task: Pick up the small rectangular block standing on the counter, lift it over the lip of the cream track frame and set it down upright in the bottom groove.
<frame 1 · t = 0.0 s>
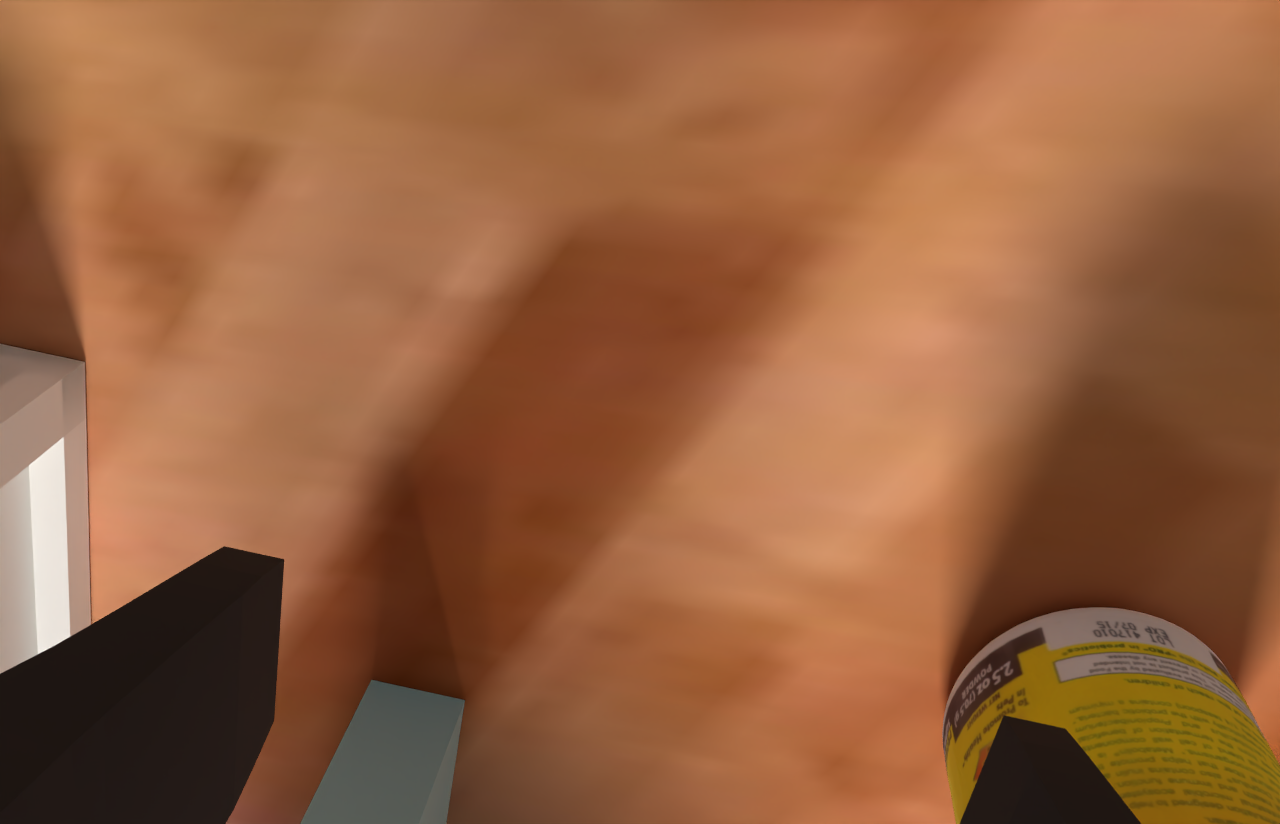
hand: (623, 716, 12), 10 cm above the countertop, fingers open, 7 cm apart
supplement bottle: (1078, 705, 24), on the countertop
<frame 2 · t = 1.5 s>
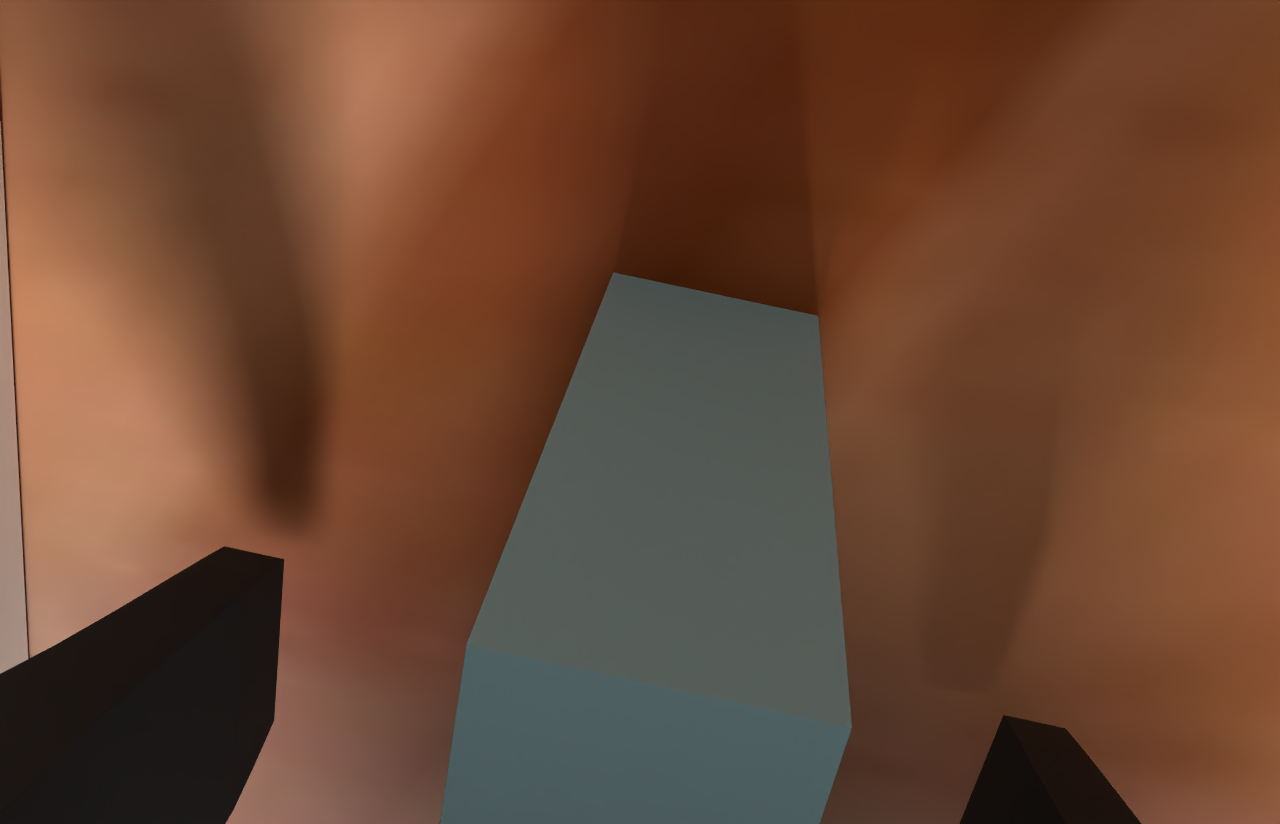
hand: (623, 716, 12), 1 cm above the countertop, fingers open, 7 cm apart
rectangular block: (640, 627, 13), on the countertop
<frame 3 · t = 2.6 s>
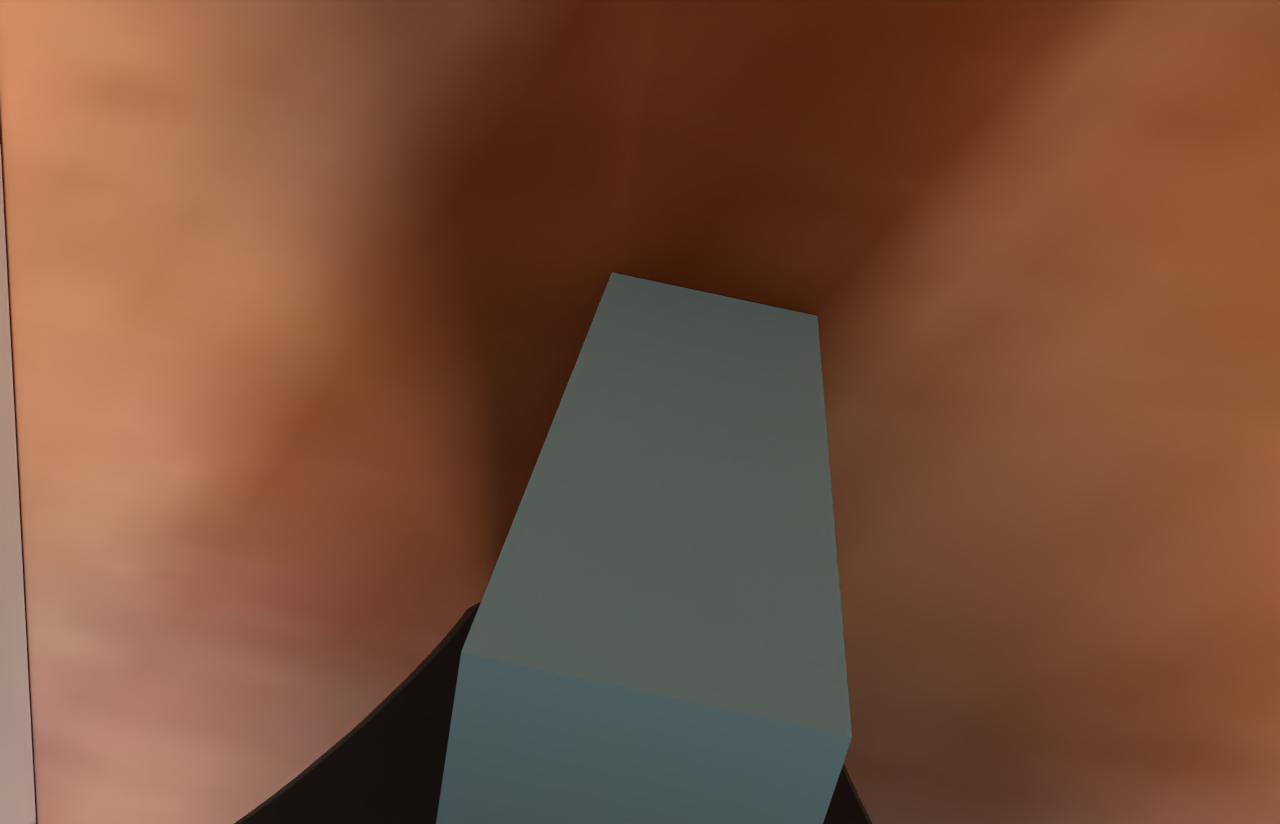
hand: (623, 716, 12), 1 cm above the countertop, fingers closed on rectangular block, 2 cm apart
rectangular block: (638, 631, 13), on the countertop, touching gripper
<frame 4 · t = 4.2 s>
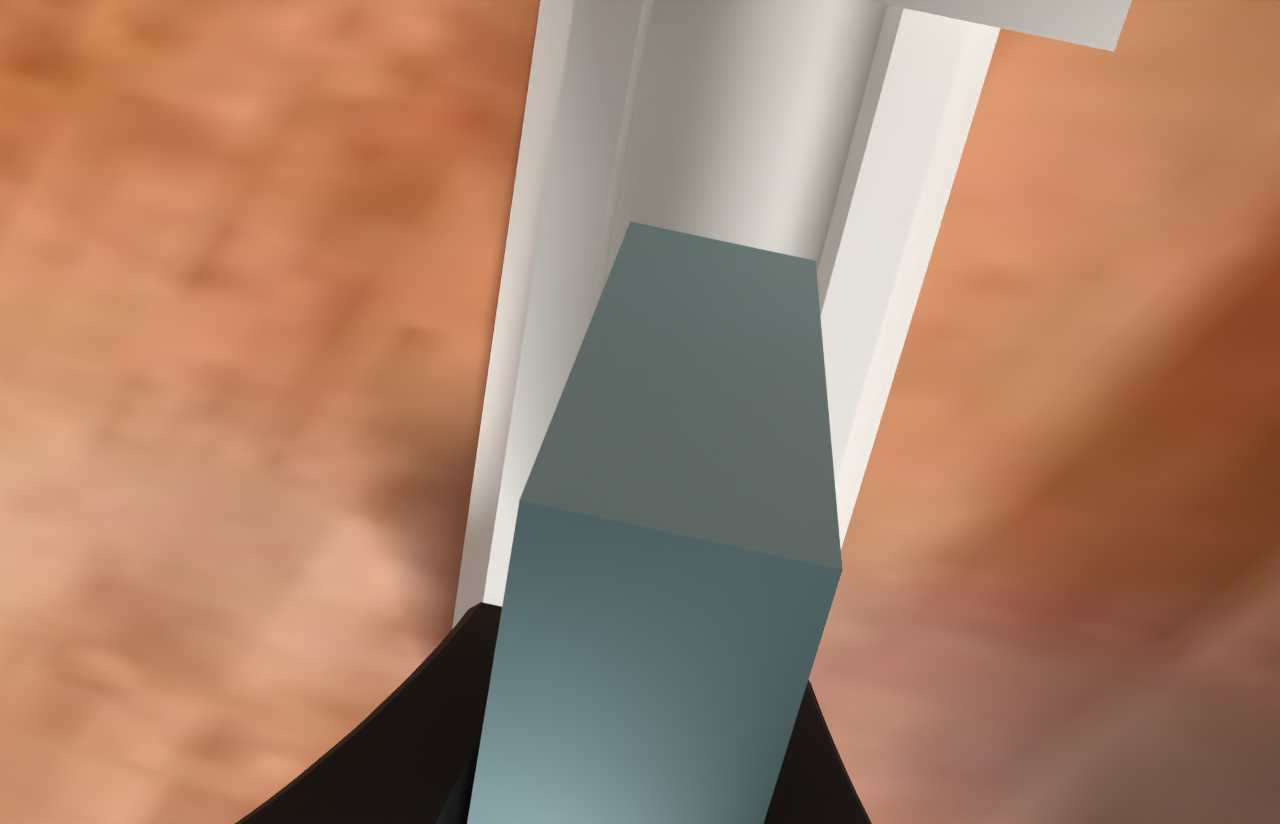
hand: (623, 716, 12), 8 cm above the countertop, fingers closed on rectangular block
track: (683, 388, 19), on the countertop
rectangular block: (652, 554, 14), point 5 cm above the countertop, touching gripper
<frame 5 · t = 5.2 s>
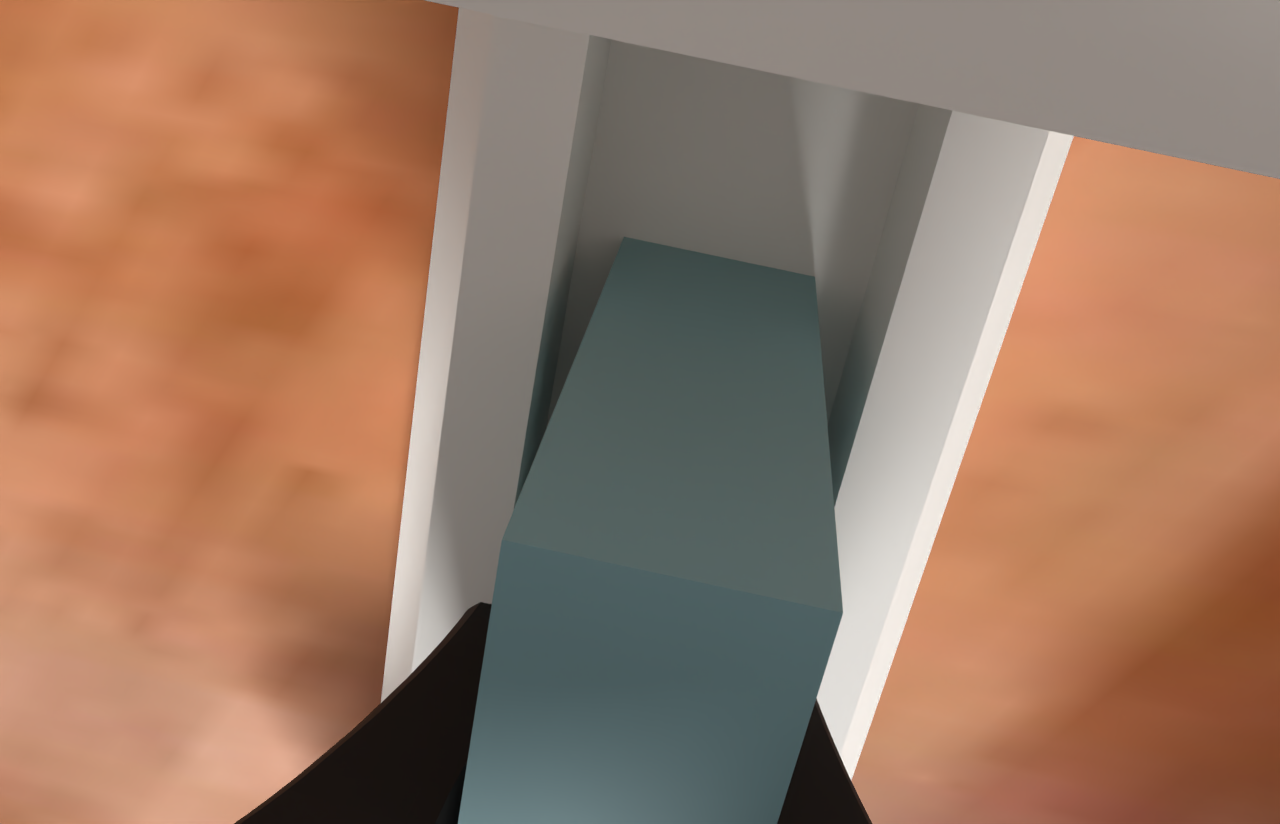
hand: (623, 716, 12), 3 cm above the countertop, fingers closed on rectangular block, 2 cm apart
track: (655, 547, 15), on the countertop
rectangular block: (648, 577, 14), point 1 cm above the countertop, touching gripper, track
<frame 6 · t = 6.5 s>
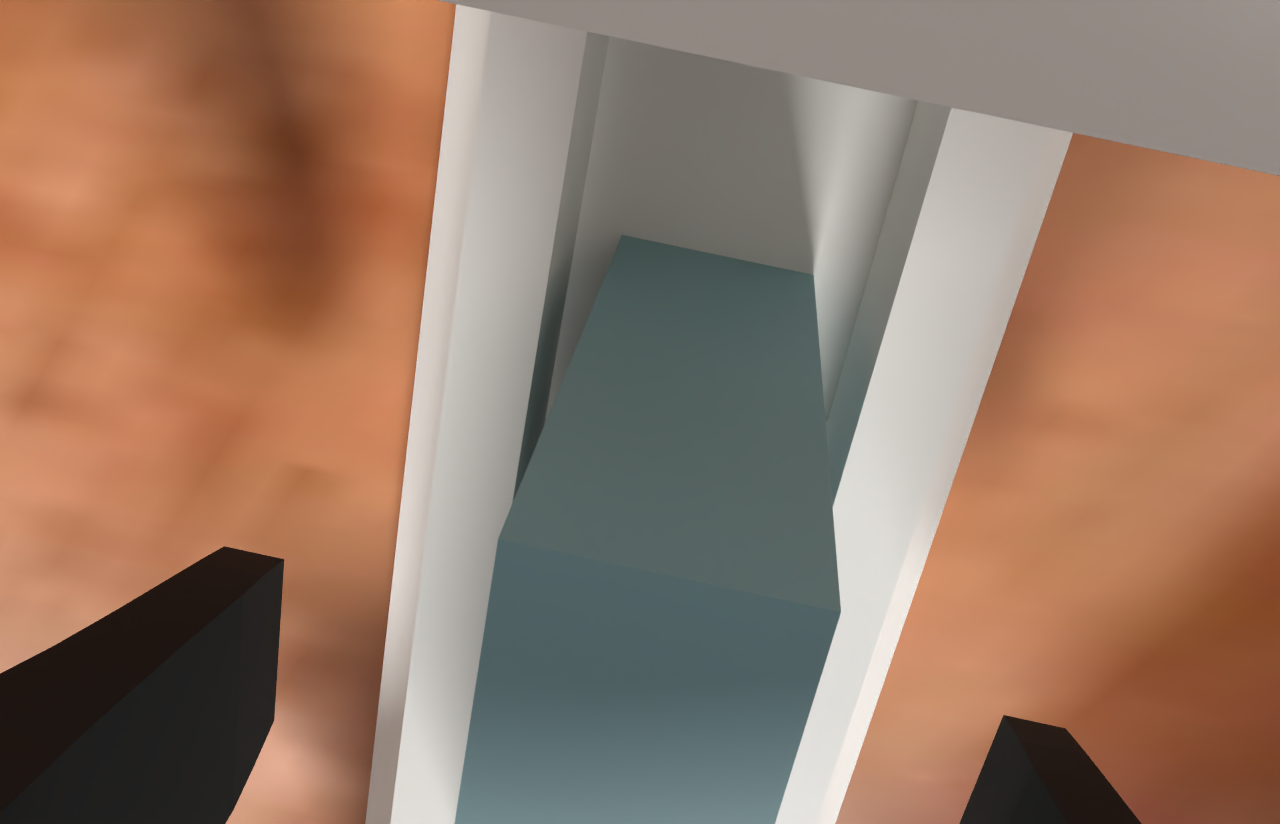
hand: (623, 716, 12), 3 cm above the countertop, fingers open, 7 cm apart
track: (654, 546, 15), on the countertop
rectangular block: (646, 576, 14), point 1 cm above the countertop, touching track
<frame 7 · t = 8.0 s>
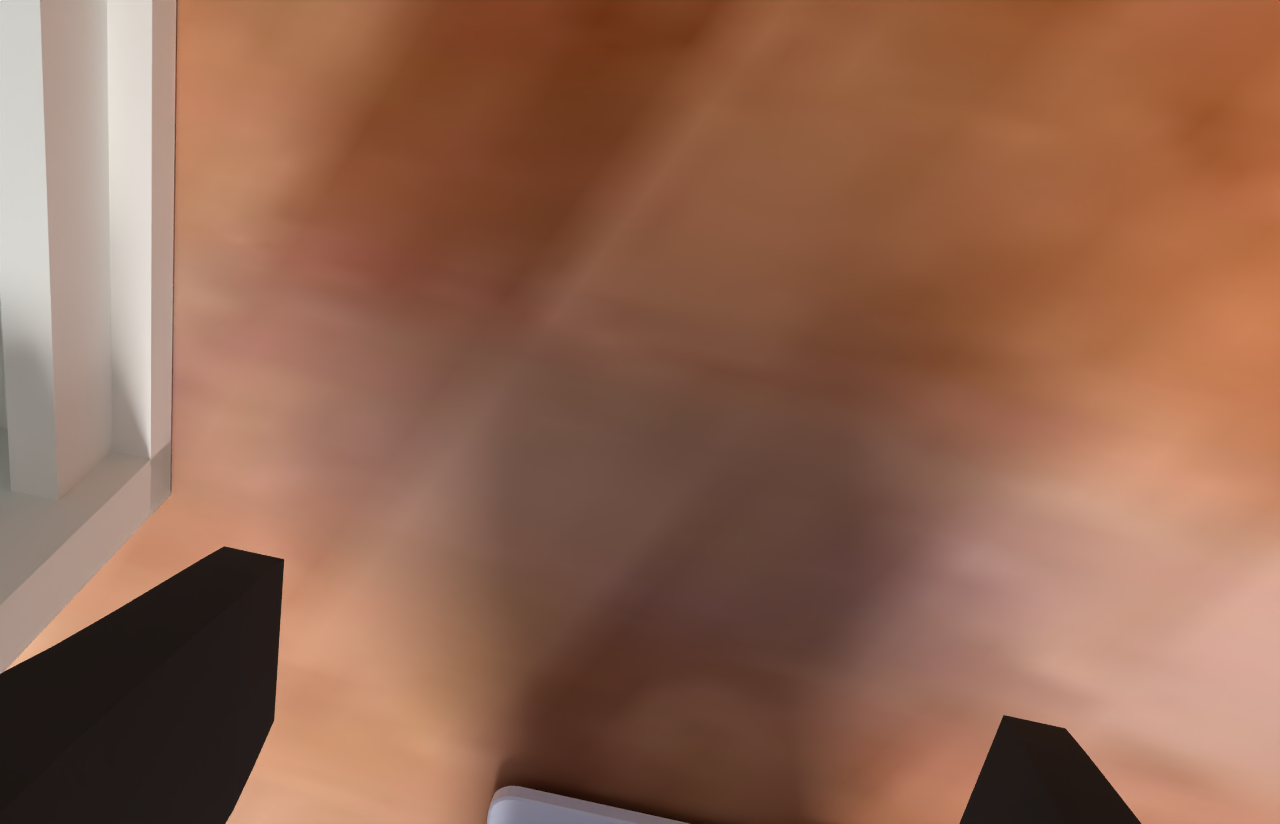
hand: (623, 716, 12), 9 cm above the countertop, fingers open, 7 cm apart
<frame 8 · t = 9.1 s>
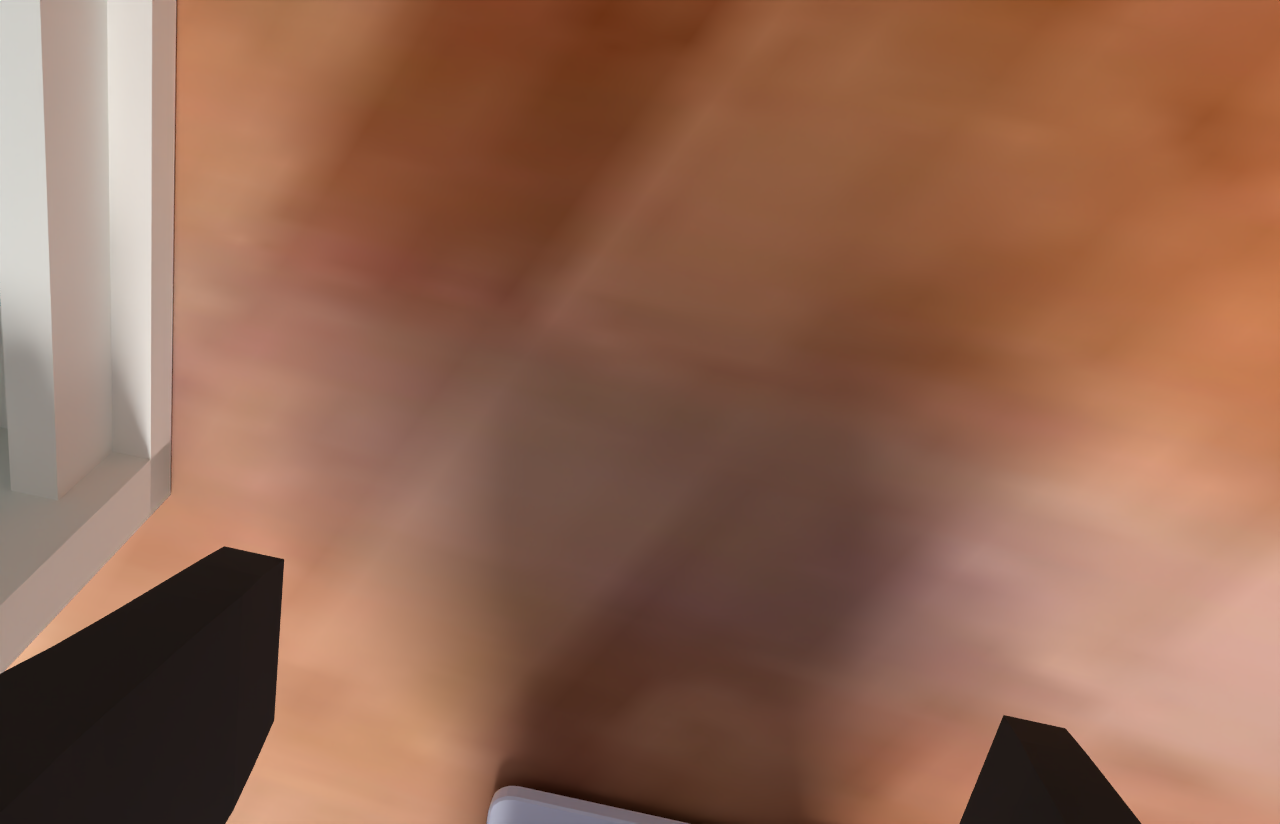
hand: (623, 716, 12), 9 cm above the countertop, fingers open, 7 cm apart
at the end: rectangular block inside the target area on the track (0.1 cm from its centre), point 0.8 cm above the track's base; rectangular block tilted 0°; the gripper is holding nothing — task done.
